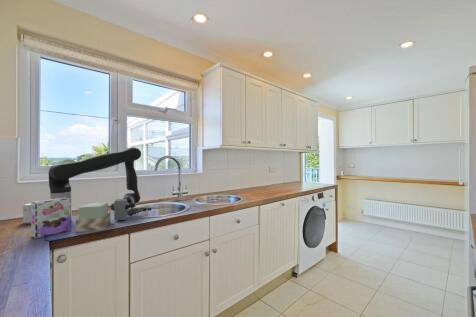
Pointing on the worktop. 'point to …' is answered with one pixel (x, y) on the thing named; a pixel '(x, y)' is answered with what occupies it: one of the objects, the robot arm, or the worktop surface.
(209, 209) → the worktop surface
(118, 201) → the grey block
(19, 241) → the worktop surface
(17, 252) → the worktop surface
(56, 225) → the candy box
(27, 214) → the small box
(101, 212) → the sage block
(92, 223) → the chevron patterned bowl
